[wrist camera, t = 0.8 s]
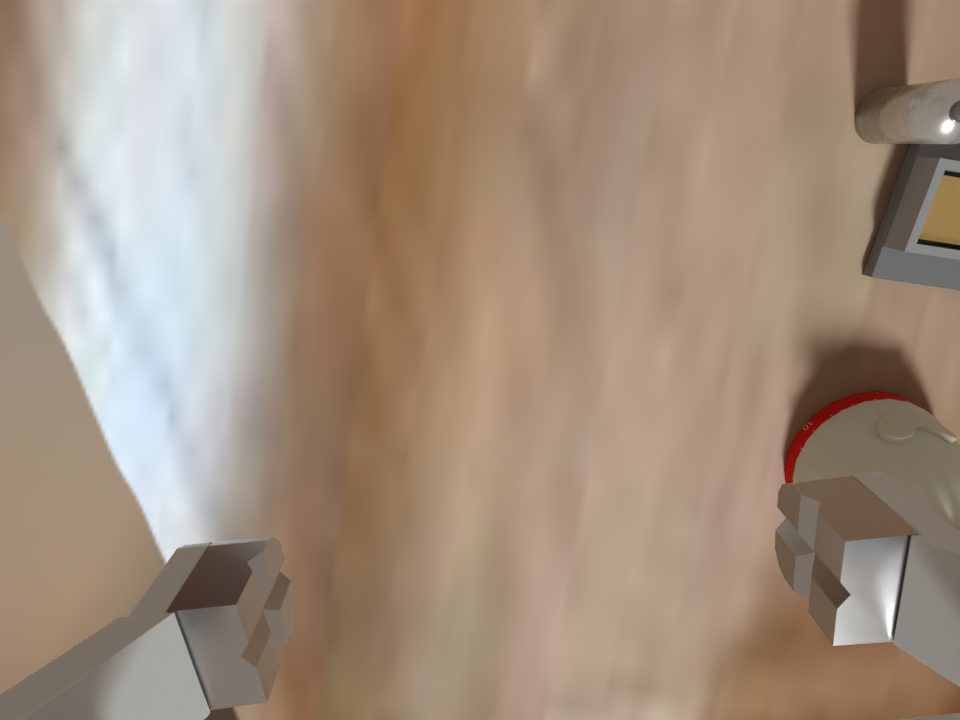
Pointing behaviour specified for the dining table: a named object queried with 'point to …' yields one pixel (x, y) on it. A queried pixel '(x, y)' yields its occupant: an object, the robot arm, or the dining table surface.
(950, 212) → the plate
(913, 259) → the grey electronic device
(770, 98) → the dining table surface
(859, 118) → the cell
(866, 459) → the kitchen timer
